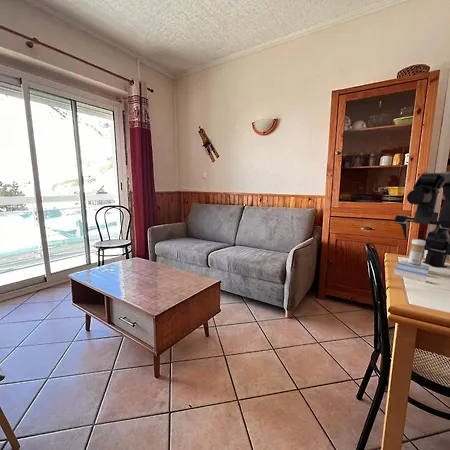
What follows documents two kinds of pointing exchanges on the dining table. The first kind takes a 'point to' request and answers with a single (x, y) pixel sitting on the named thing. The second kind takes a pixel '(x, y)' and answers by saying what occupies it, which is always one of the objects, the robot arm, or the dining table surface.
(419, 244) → the sprinkles bottle
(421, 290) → the dining table surface
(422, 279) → the rail comb
